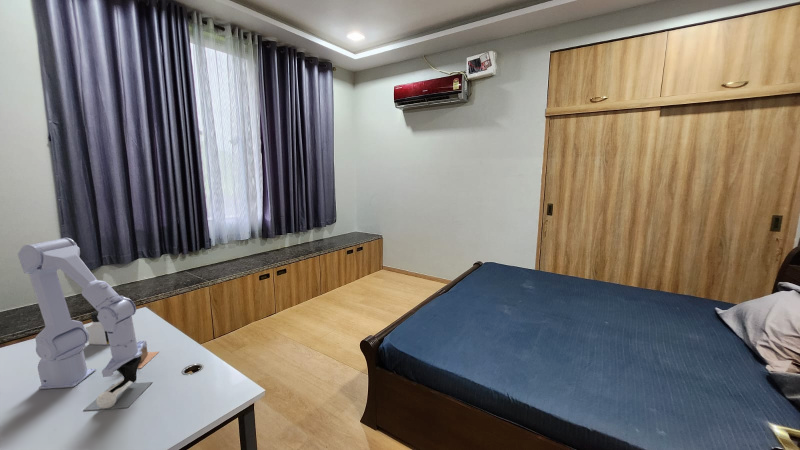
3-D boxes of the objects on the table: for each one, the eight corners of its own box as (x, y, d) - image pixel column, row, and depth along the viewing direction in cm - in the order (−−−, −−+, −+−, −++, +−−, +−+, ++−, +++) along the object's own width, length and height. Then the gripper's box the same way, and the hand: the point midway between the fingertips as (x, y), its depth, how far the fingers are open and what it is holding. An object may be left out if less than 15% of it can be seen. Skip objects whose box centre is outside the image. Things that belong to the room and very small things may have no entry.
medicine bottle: (107, 345, 113) (102, 314, 111) (88, 344, 113) (82, 314, 111) (124, 334, 120) (119, 306, 118) (106, 334, 120) (101, 305, 118)
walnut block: (123, 366, 101) (121, 352, 100) (129, 357, 106) (127, 344, 105) (142, 362, 103) (140, 349, 102) (147, 354, 107) (145, 341, 107)
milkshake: (133, 393, 92) (107, 417, 82) (115, 385, 91) (87, 408, 81) (141, 380, 92) (116, 402, 82) (124, 372, 91) (96, 394, 81)
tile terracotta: (110, 370, 99) (110, 369, 99) (131, 353, 108) (131, 353, 108) (141, 368, 100) (141, 367, 100) (159, 352, 109) (159, 351, 109)
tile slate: (83, 410, 83) (83, 410, 83) (112, 385, 93) (112, 384, 93) (127, 407, 84) (127, 407, 84) (152, 382, 94) (152, 382, 94)
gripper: (118, 354, 83) (127, 398, 85) (154, 327, 97) (161, 365, 100) (89, 356, 82) (99, 401, 85) (129, 328, 96) (137, 367, 99)
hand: (131, 382), depth 92 cm, fingers closed, pressing on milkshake
